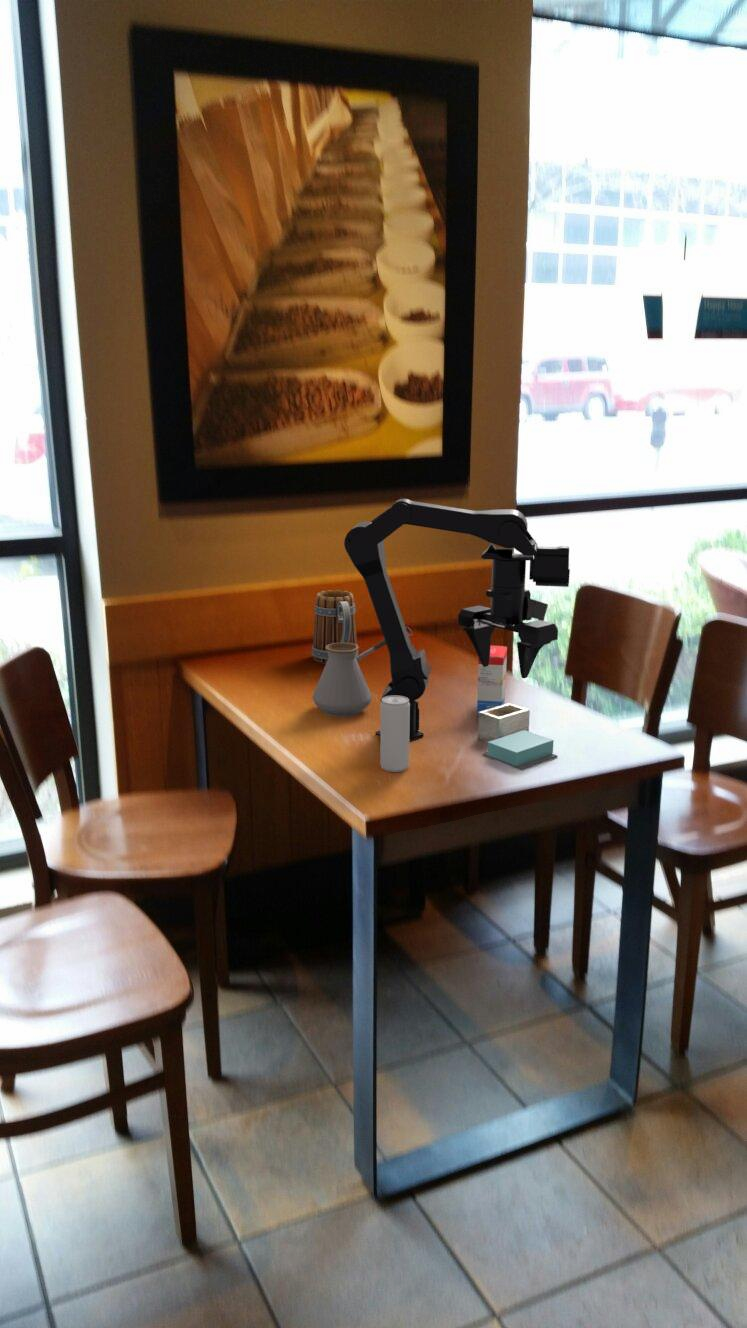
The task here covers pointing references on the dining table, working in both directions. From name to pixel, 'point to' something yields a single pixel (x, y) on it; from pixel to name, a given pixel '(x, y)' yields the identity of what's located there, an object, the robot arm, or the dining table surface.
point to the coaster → (527, 764)
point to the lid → (520, 747)
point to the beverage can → (394, 733)
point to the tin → (502, 721)
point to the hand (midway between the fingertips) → (504, 672)
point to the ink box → (492, 680)
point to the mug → (333, 622)
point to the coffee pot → (344, 681)
